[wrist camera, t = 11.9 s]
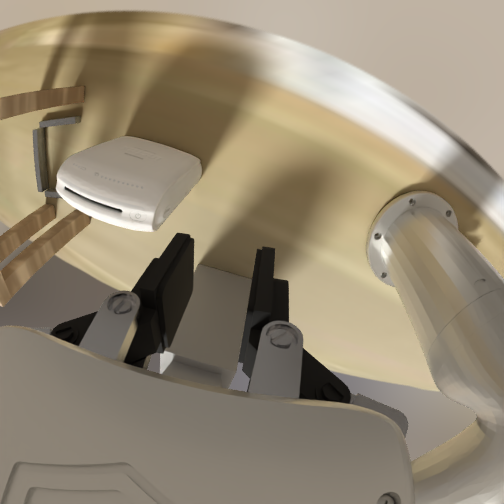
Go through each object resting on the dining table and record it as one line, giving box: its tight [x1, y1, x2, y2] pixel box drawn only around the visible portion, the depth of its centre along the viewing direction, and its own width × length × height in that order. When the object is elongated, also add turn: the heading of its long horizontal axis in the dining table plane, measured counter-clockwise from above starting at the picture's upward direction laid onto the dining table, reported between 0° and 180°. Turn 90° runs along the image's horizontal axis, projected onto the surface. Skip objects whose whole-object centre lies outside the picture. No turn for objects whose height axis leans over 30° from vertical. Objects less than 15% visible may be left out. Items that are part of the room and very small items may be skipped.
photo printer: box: [56, 136, 202, 232], centre depth 22 cm, size 10×4×12 cm, turn 69°
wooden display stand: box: [0, 86, 90, 307], centre depth 20 cm, size 9×18×18 cm, turn 173°
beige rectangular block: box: [160, 264, 252, 389], centre depth 27 cm, size 7×7×18 cm
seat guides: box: [33, 116, 80, 198], centre depth 26 cm, size 8×11×2 cm
